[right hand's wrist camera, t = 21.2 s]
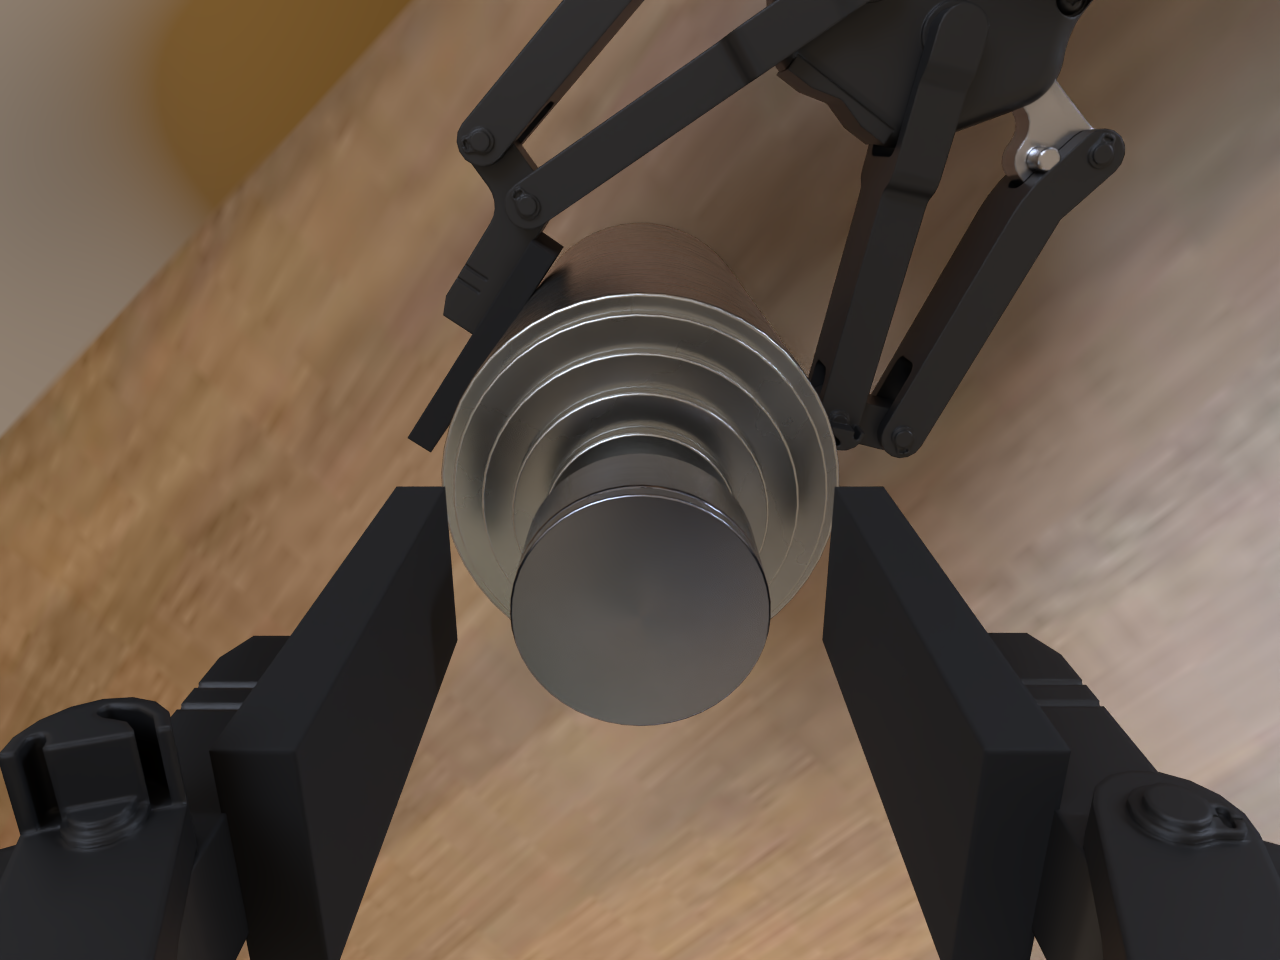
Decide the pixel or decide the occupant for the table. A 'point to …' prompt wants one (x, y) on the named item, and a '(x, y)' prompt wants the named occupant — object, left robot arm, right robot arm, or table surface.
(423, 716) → the right robot arm
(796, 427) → the bottle
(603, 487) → the cap
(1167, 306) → the table surface
